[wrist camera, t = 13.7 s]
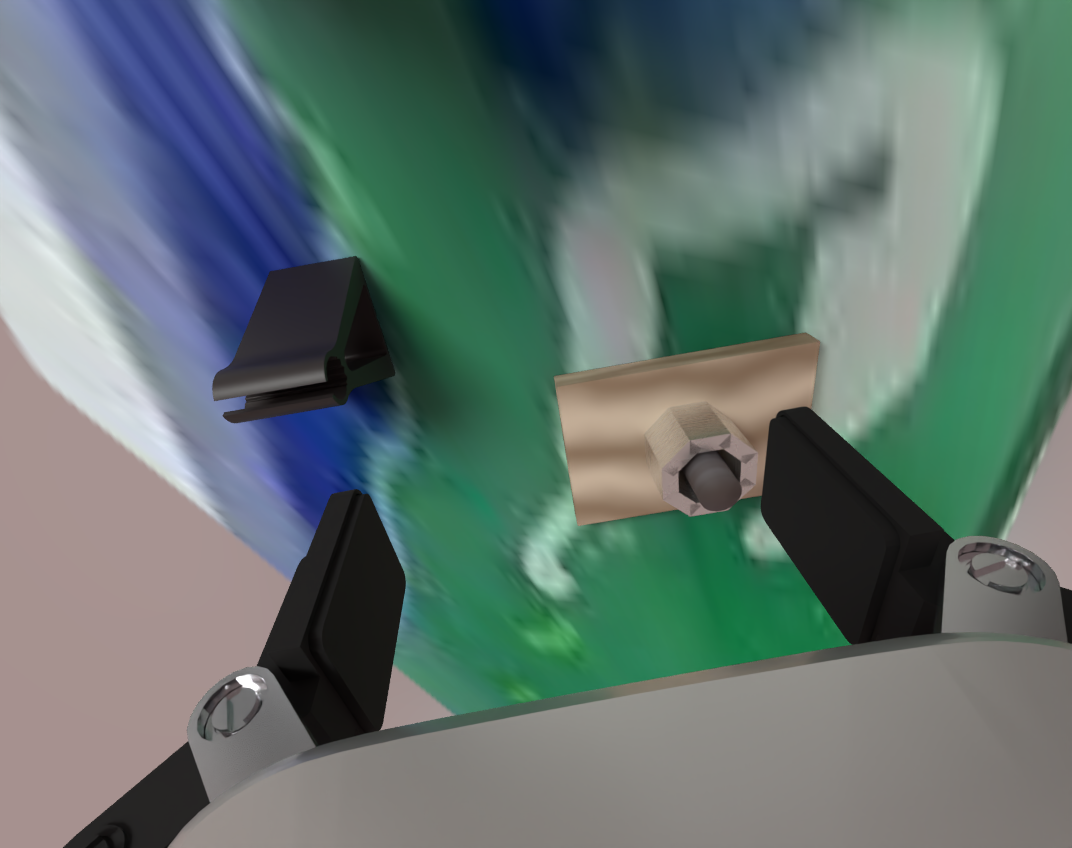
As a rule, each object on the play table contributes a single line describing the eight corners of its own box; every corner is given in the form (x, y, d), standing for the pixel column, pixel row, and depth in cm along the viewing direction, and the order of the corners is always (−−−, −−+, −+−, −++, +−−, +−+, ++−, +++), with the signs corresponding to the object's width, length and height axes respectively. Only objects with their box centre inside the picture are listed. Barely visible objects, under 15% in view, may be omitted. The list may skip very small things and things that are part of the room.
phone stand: (395, 373, 39) (358, 460, 28) (319, 386, 39) (254, 477, 28) (357, 255, 34) (296, 306, 24) (272, 269, 34) (174, 326, 24)
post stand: (553, 376, 40) (567, 434, 32) (805, 332, 39) (882, 381, 31) (574, 511, 47) (590, 586, 39) (788, 475, 46) (847, 544, 38)
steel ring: (642, 411, 40) (660, 445, 35) (731, 396, 39) (760, 428, 35) (647, 482, 43) (663, 520, 39) (728, 468, 43) (754, 505, 38)
